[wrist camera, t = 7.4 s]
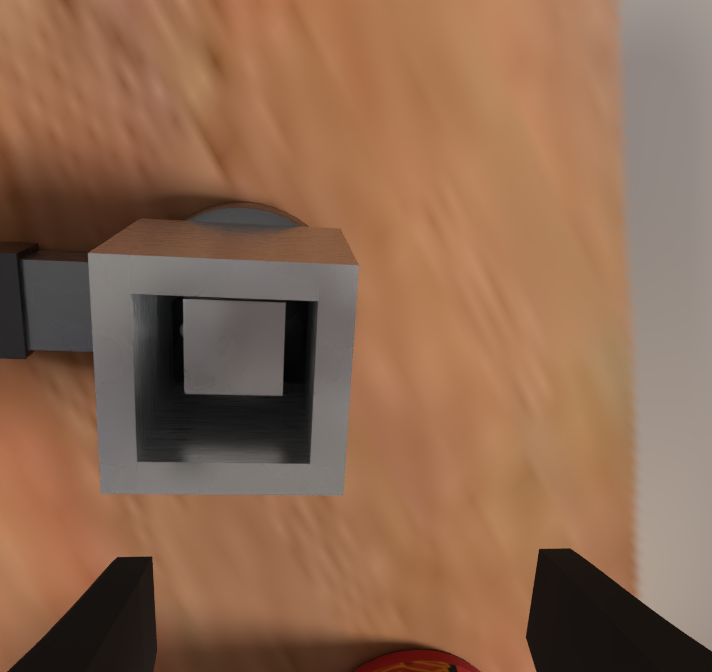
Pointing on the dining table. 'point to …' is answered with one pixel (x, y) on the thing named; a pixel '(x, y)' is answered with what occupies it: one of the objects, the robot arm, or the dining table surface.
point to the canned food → (417, 663)
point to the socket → (214, 411)
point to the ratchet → (190, 314)
